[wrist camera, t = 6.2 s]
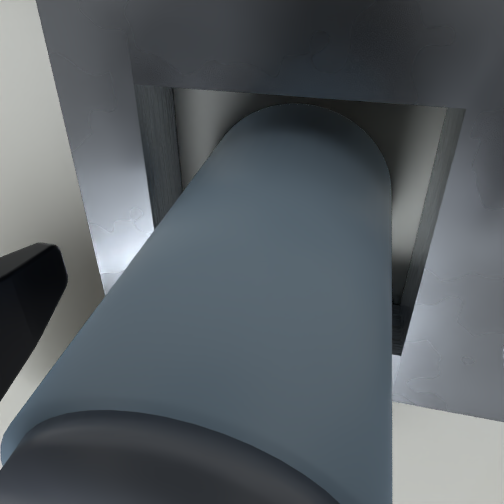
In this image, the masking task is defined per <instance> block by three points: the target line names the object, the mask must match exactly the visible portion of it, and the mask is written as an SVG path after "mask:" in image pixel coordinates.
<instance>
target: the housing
mask: <svg viewBox="0 0 504 504" xmlns="http://www.w3.org/2000/svg"><path fill="white" fill-rule="evenodd" d="M36 3H37V8H38V12H39V16H40V20H41V25H42V29H43V33H44V37H45V42H46V46H47V50H48V55H49V59H50V63H51V67H52V72H53V76H54V80H55V84H56V89H57V93H58V97H59V102H60V106H61V110H62V114H63V119H64V123H65V127H66V131H67V136H68V140H69V144H70V148H71V153H72V157H73V161H74V166H75V170H76V174H77V178H78V183H79V187H80V191H81V195H82V200H83V204H84V208H85V212H86V217H87V221H88V225H89V230H90V234H91V238H92V242H93V247H94V251H95V255H96V259H97V264H98V268H99V272H100V276H101V281H102V285H103V289H104V294H105V296H106V295H107V293H108V292H109V291H110V289H111V288H112V286H113V285H114V284H115V282H116V281H117V280H118V278H119V277H120V276H121V274H122V273H123V272H124V270H125V269H126V268H127V266H128V265H129V264H130V262H131V261H132V260H133V258H134V257H135V256H136V254H137V253H138V251H139V250H140V249H141V247H142V246H143V245H144V243H145V242H146V241H147V239H148V238H149V237H150V235H151V234H152V233H153V231H154V230H155V229H156V227H157V226H158V225H159V223H160V222H161V221H162V219H163V218H164V217H165V215H166V214H167V212H168V211H169V210H170V208H171V207H172V206H173V204H174V203H175V202H176V200H177V199H178V198H179V196H180V195H181V194H182V185H181V174H180V164H179V153H178V143H177V133H176V122H175V112H174V101H173V91H172V87H175V88H188V89H202V90H216V91H229V92H243V93H256V94H270V95H284V96H297V97H311V98H325V99H338V100H352V101H366V102H379V103H393V104H407V105H420V106H434V107H447V112H446V116H445V120H444V124H443V128H442V133H441V137H440V141H439V145H438V149H437V153H436V158H435V162H434V166H433V170H432V174H431V178H430V183H429V187H428V191H427V195H426V199H425V203H424V208H423V212H422V216H421V220H420V224H419V228H418V233H417V237H416V241H415V245H414V249H413V253H412V258H411V262H410V266H409V270H408V274H407V278H406V283H405V287H404V291H403V295H402V299H401V303H400V305H396V304H392V401H394V402H399V403H404V404H410V405H415V406H420V407H426V408H431V409H436V410H442V411H447V412H452V413H458V414H463V415H469V416H474V417H479V418H485V419H490V420H495V421H501V422H504V367H503V350H504V0H36Z"/></svg>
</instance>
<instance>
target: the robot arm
mask: <svg viewBox="0 0 504 504" xmlns="http://www.w3.org/2000/svg"><path fill="white" fill-rule="evenodd" d="M67 283H68V275H67V271H66V267H65V264H64V260H63V257H62V253H61V250H60V249H59V247H58V246H56V245H54V244H47V243H35V244H33V245H30V246H28V247H25V248H23V249H20V250H18V251H15V252H13V253H10V254H8V255H5V256H3V257H0V401H1V400H2V398H3V397H4V395H5V394H6V392H7V391H8V389H9V387H10V386H11V384H12V383H13V381H14V380H15V378H16V377H17V375H18V374H19V372H20V370H21V369H22V367H23V366H24V364H25V363H26V361H27V360H28V358H29V357H30V355H31V353H32V352H33V350H34V348H35V347H36V345H37V343H38V341H39V340H40V338H41V336H42V334H43V332H44V330H45V328H46V326H47V324H48V322H49V320H50V318H51V316H52V314H53V312H54V310H55V308H56V306H57V304H58V302H59V300H60V298H61V296H62V294H63V292H64V290H65V289H66V286H67ZM503 367H504V350H503Z"/></svg>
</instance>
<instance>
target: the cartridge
mask: <svg viewBox="0 0 504 504" xmlns="http://www.w3.org/2000/svg"><path fill="white" fill-rule="evenodd" d="M1 461H2V465H3V467H2V469H1V470H0V504H392V193H391V180H390V174H389V170H388V167H387V164H386V162H385V159H384V157H383V155H382V153H381V152H380V150H379V148H378V147H377V145H376V144H375V143H374V141H373V140H372V139H371V137H370V136H369V135H368V134H367V133H366V132H365V131H364V130H363V129H362V128H360V127H359V126H358V125H356V124H355V123H354V122H353V121H351V120H349V119H348V118H346V117H344V116H343V115H341V114H339V113H336V112H334V111H331V110H329V109H326V108H322V107H319V106H315V105H308V104H281V105H275V106H271V107H267V108H263V109H261V110H259V111H256V112H254V113H252V114H250V115H248V116H247V117H245V118H243V119H242V120H240V121H239V122H238V123H237V124H235V125H234V126H233V127H232V128H231V129H230V130H229V131H228V132H227V133H226V135H225V136H224V137H223V138H222V140H221V141H220V143H219V144H218V145H217V147H216V148H215V149H214V151H213V152H212V153H211V155H210V156H209V157H208V159H207V160H206V161H205V163H204V164H203V165H202V167H201V168H200V169H199V171H198V172H197V173H196V175H195V176H194V177H193V179H192V180H191V182H190V183H189V184H188V186H187V187H186V188H185V190H184V191H183V192H182V194H181V195H180V196H179V198H178V199H177V200H176V202H175V203H174V204H173V206H172V207H171V208H170V210H169V211H168V212H167V214H166V215H165V217H164V218H163V219H162V221H161V222H160V223H159V225H158V226H157V227H156V229H155V230H154V231H153V233H152V234H151V235H150V237H149V238H148V239H147V241H146V242H145V243H144V245H143V246H142V247H141V249H140V250H139V251H138V253H137V254H136V256H135V257H134V258H133V260H132V261H131V262H130V264H129V265H128V266H127V268H126V269H125V270H124V272H123V273H122V274H121V276H120V277H119V278H118V280H117V281H116V282H115V284H114V285H113V286H112V288H111V289H110V291H109V292H108V293H107V295H106V296H105V297H104V299H103V300H102V301H101V303H100V304H99V305H98V307H97V308H96V309H95V311H94V312H93V313H92V315H91V316H90V317H89V319H88V320H87V321H86V323H85V324H84V325H83V327H82V328H81V330H80V331H79V332H78V334H77V335H76V336H75V338H74V339H73V340H72V342H71V343H70V344H69V346H68V347H67V348H66V350H65V351H64V352H63V354H62V355H61V356H60V358H59V359H58V360H57V362H56V363H55V364H54V366H53V367H52V369H51V370H50V371H49V373H48V374H47V375H46V377H45V378H44V379H43V381H42V382H41V383H40V385H39V386H38V387H37V389H36V390H35V391H34V393H33V394H32V395H31V397H30V398H29V399H28V401H27V402H26V404H25V405H24V406H23V408H22V409H21V410H20V412H19V413H18V414H17V416H16V417H15V418H14V420H13V421H12V422H11V424H10V425H9V427H8V428H7V430H6V432H5V433H4V435H3V439H2V443H1Z"/></svg>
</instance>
